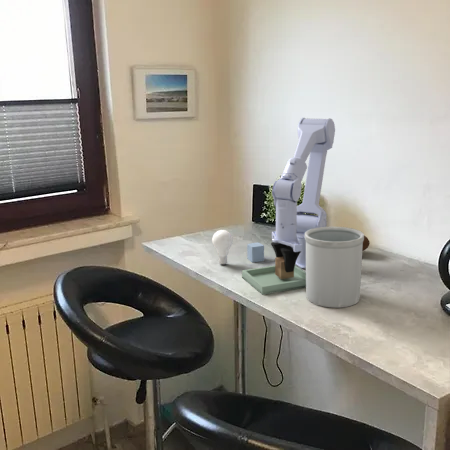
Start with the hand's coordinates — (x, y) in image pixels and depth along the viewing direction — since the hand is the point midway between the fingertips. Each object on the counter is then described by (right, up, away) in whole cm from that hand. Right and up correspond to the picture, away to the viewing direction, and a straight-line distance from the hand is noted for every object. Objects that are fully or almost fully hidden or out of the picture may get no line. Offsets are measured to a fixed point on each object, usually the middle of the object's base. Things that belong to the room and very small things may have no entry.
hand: (285, 269), depth 159 cm
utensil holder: (+11, -7, -12) cm, 17 cm away
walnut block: (0, -2, 0) cm, 2 cm away
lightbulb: (-18, 0, +15) cm, 23 cm away
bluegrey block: (-8, +1, +19) cm, 20 cm away
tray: (-2, -4, 0) cm, 4 cm away
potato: (+24, +3, +22) cm, 33 cm away
